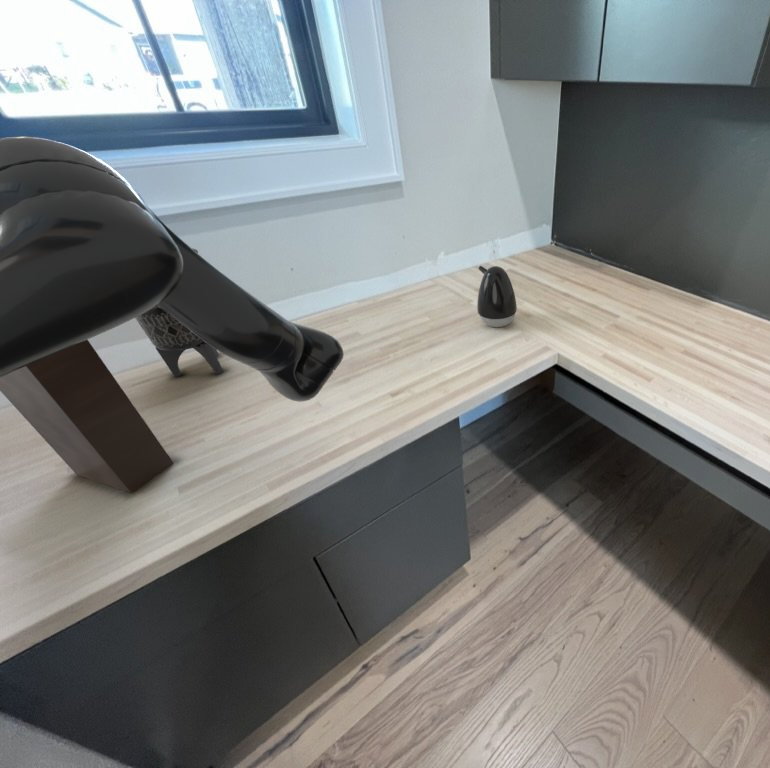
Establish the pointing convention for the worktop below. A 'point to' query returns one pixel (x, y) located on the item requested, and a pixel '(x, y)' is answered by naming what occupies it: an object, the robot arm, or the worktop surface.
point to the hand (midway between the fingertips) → (98, 235)
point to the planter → (174, 339)
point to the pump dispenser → (496, 297)
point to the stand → (86, 418)
